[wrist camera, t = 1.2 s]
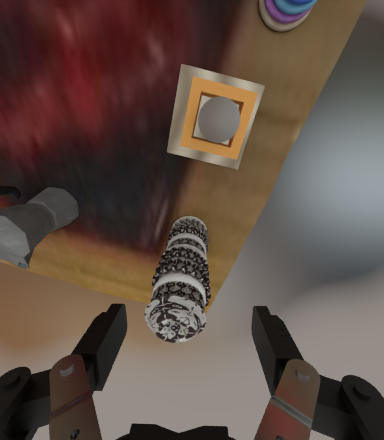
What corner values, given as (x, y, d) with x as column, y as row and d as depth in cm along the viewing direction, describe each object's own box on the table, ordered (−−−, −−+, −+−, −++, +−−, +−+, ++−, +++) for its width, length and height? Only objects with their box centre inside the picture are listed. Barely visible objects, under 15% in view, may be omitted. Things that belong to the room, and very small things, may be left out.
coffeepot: (91, 226, 49) (34, 277, 33) (58, 234, 51) (-13, 286, 35) (57, 162, 43) (-34, 186, 27) (20, 173, 45) (-86, 203, 28)
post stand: (168, 151, 41) (116, 189, 18) (182, 65, 34) (132, -47, 12) (236, 168, 41) (273, 226, 18) (262, 87, 35) (368, 20, 12)
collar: (183, 142, 22) (179, 145, 20) (195, 82, 20) (193, 76, 17) (233, 155, 22) (236, 159, 20) (251, 96, 20) (258, 92, 17)
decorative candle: (214, 243, 49) (220, 347, 26) (178, 252, 51) (154, 357, 28) (202, 209, 45) (197, 296, 23) (164, 220, 47) (124, 311, 25)
